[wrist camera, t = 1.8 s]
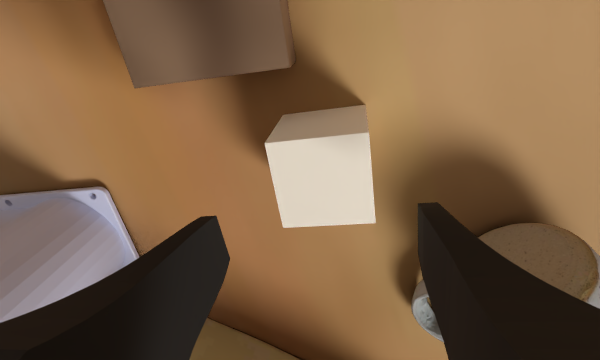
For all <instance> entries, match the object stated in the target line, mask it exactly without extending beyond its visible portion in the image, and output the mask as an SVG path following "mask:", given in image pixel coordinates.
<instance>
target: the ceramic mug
mask: <svg viewBox="0 0 600 360" xmlns="http://www.w3.org/2000/svg"><path fill="white" fill-rule="evenodd" d="M478 238H479V239H480V240H481V241H483V242H484V243H485V244H487V245H488V246H489V247H491V248H492V249H494V250H495V251H496V252H498V253H499V254H500V255H502V256H503V257H505V258H506V259H508V260H509V261H511V262H513V263H514V264H516V265H517V266H519V267H521V268H522V269H524V270H526V271H527V272H529V273H530V274H532V275H534V276H536V277H537V278H539V279H541V280H543V281H545V282H546V283H548V284H550V285H552V286H554V287H556V288H558V289H560V290H562V291H564V292H566V293H568V294H570V295H572V296H574V297H576V298H578V299H580V300H582V301H584V302H586V303H588V304H591V305H593V306H595V307H597V308H600V256H599V255H598V254H597V253H596V252H595V251H594V250H593V249H592V248H591V247H590V246H589V245H588V244H587V243H586V242H585V241H584V240H582V239H581V238H579V237H578V236H576V235H575V234H573V233H572V232H570V231H568V230H565V229H562V228H560V227H557V226H554V225H549V224H541V223H518V224H512V225H507V226H504V227H500V228H497V229H494V230H491V231H489V232H487V233H485V234H483V235H481V236H480V237H478ZM426 297H429V296H428V292H427V289H426V286H425V283H424V280H422V281H420V282H419V283H418V285H417V286H416V289H415V292H414V295H413V299H412V304H411V309H412V312H413V315H414V317H415V319H416V320H417V322H418V323H419V324H420V326H421V327H422V328H423V329H425V330H426V331H427V332H428V333H429V334H431V335H432V336H434V337H435V338H437V339H438V340H440V341H442V342H444V341H443V338H442V335H441V332H440V329H439V326H438V323H437V320H436V317H435V314H434V312H433V310H432V309H431V307H430V306H429V304H428V303H427V298H426Z"/></svg>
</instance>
